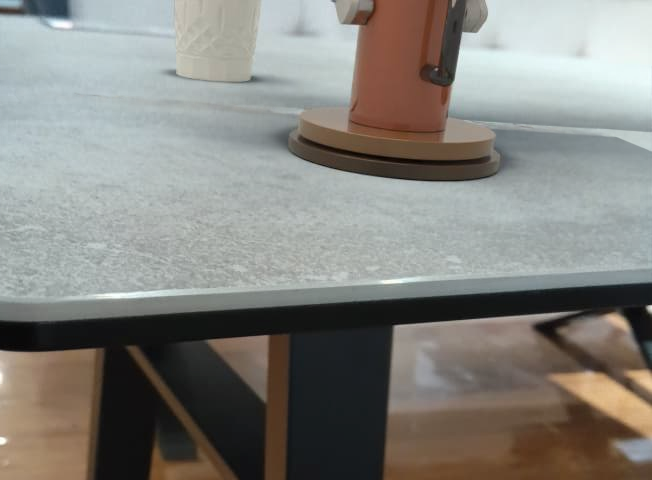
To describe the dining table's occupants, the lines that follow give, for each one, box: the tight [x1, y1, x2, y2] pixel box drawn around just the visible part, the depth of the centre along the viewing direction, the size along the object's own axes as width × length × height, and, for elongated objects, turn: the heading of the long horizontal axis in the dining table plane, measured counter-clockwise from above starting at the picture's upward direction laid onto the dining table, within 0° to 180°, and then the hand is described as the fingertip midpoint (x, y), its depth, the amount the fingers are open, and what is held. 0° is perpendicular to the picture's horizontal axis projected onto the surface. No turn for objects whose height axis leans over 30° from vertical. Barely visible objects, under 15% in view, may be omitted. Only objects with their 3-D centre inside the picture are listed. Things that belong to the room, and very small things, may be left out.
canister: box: [297, 0, 497, 161], centre depth 52 cm, size 12×12×13 cm
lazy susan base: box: [287, 127, 501, 181], centre depth 55 cm, size 13×13×1 cm
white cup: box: [173, 0, 262, 83], centre depth 78 cm, size 8×8×10 cm
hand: (416, 21), depth 51 cm, fingers closed on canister, 6 cm apart
